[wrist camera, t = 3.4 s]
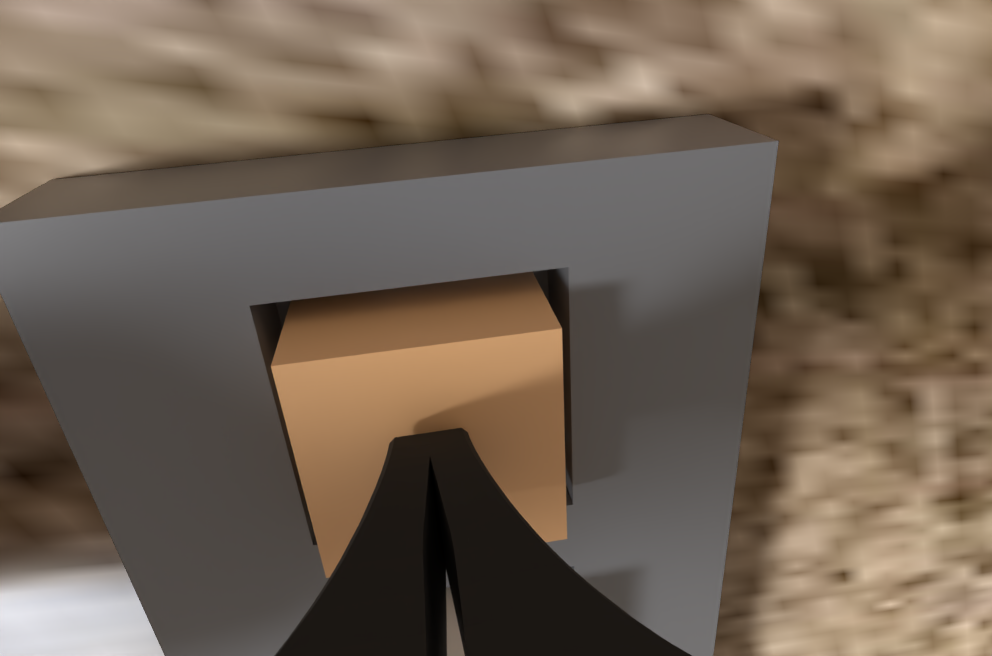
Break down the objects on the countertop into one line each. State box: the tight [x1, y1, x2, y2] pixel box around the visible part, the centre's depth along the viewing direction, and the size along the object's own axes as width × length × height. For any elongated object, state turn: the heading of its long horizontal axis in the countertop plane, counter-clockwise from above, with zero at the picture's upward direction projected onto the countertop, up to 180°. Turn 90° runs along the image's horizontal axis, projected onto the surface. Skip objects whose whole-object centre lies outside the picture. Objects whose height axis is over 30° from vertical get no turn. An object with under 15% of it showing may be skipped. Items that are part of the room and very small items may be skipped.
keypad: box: [0, 114, 779, 656], centre depth 19 cm, size 14×26×3 cm, turn 4°
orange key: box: [271, 272, 567, 578], centre depth 14 cm, size 5×5×3 cm
